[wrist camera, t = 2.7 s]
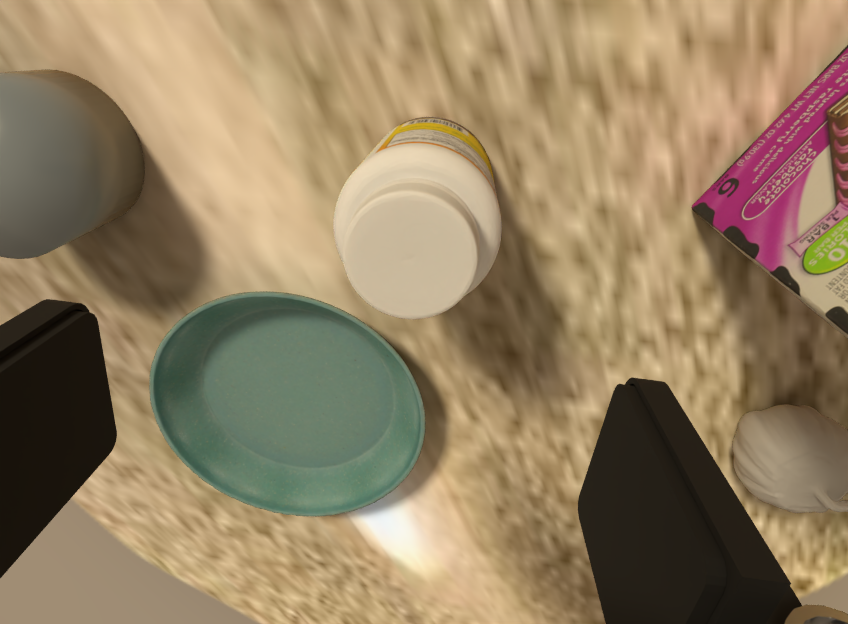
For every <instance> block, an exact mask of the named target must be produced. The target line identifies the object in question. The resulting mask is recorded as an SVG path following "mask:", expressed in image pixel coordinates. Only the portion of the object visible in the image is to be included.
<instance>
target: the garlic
mask: <svg viewBox="0 0 848 624" xmlns="http://www.w3.org/2000/svg"><path fill="white" fill-rule="evenodd" d="M732 448H733V453H734V469H735V472H736V474H737V476H738V478H739V479H740V481H741V482H742V483H743V484H744V486H745V487H746V488H747V490H748V491H749V492H750V493H752V494H753V495H754V496H756V497H757V498H758V499H760V500H761V501H763V502H766V503H769V504H772V505H774V506H776V507H778V508H781V509H785V510H787V511H789V512H793V513H804V512H818V513H823V512H826V511H827V510H828V509H831V510H833V511H837V512H848V501H846V500H843V501H839V500H841V499H842V498H843V497H844V496H845V495H846V494H847V493H848V430H847V429H846V428H844V427H843V426H842V425H841V424H839V423H838V422H836V421H834V420H832V419H830V418H827V417H825V416H822V415H820V413H819V412H818V411H816V410H815V409H814V408H812V407H810V406H807V405H800V406H794V405H776V406H773V407H770V408H768V409H765V410H762V411H751V412H748V413H746V414H744V415H743V416H742V418H741V419H740V421H739V423H738V429H737V431H736V434H735V437H734V439H733V443H732Z"/></svg>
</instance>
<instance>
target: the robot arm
mask: <svg viewBox="0 0 848 624" xmlns="http://www.w3.org/2000/svg"><path fill="white" fill-rule="evenodd" d="M116 437H117V431H116V425H115V419H114V414H113V408H112V402H111V396H110V390H109V384H108V378H107V373H106V367H105V361H104V355H103V349H102V343H101V338H100V332H99V326H98V321H97V318H96V317H95V315H94V314H92V313H89V310H88V309H87V307H86V306H85V305H83V304H81V303H73V302H66V301H58V300H50V299H46V300H44V301H41V302H39V303H38V304H36V305H34V306H33V307H31V308H29V309H28V310H26V311H24V312H22V313H21V314H19V315H17V316H16V317H14V318H12V319H11V320H9V321H7V322H6V323H4V324H2V325H0V578H1V577H2V576H3V575H4V573H5V572H6V571H7V570H8V569H9V568H10V567H11V565H12V564H13V563H14V562H15V561H16V560H17V559H18V558H19V556H20V555H21V554H22V553H23V552H24V551H25V550H26V548H27V547H28V546H29V545H30V544H31V543H32V542H33V541H34V539H35V538H36V537H37V536H38V535H39V534H40V533H41V531H42V530H43V529H44V528H45V527H46V526H47V525H48V523H49V522H50V521H51V520H52V519H53V518H54V517H55V515H56V514H57V513H58V512H59V511H60V510H61V509H62V508H63V506H64V505H65V504H66V503H67V502H68V501H69V500H70V498H71V497H72V496H73V495H74V494H75V493H76V492H77V490H78V489H79V488H80V487H81V486H82V485H83V484H84V482H85V481H86V480H87V479H88V478H89V477H90V476H91V474H92V473H93V472H94V471H95V470H96V469H97V468H98V466H99V465H100V464H101V463H102V462H103V461H104V460H105V459H106V457H107V456H108V455H109V454H110V453H111V451H112V450H113V448H114V445H115V442H116ZM578 514H579V519H580V523H581V527H582V531H583V535H584V539H585V543H586V547H587V551H588V555H589V559H590V563H591V567H592V571H593V575H594V579H595V583H596V587H597V591H598V594H599V598H600V602H601V606H602V610H603V614H604V618H605V622H606V624H848V614H847V613H845V612H843V611H839V610H836V609H833V608H830V607H826V606H822V605H804V606H802V605H801V603H800V601H799V600H798V598H797V597H796V595H795V593H794V592H793V590H792V588H791V587H790V584H791V583H790V581H789V580H788V578H787V576H786V575H785V573H784V572H783V570H782V568H781V567H780V565H779V563H778V562H777V560H776V559H775V557H774V555H773V554H772V552H771V551H770V549H769V547H768V546H767V544H766V543H765V541H764V539H763V538H762V536H761V535H760V533H759V531H758V530H757V528H756V526H755V525H754V523H753V522H752V520H751V518H750V517H749V515H748V514H747V512H746V510H745V509H744V507H743V506H742V504H741V502H740V501H739V499H738V497H737V496H736V494H735V493H734V491H733V489H732V488H731V486H730V485H729V483H728V481H727V480H726V478H725V477H724V475H723V473H722V472H721V470H720V469H719V467H718V465H717V464H716V462H715V460H714V459H713V457H712V456H711V454H710V452H709V451H708V449H707V448H706V446H705V444H704V443H703V441H702V440H701V438H700V436H699V435H698V433H697V431H696V430H695V428H694V427H693V425H692V423H691V422H690V420H689V419H688V417H687V415H686V414H685V412H684V411H683V409H682V407H681V406H680V404H679V403H678V401H677V399H676V398H675V396H674V394H673V393H672V391H671V390H670V388H669V386H668V385H667V384H666V383H665V382H661V381H654V380H646V379H639V378H630V379H629V380H628V381H627V382H626V384H625V385H623V384H619V385H617V386H616V388H615V390H614V392H613V395H612V398H611V401H610V404H609V407H608V410H607V413H606V417H605V420H604V423H603V426H602V429H601V432H600V435H599V438H598V441H597V444H596V447H595V450H594V453H593V456H592V459H591V462H590V465H589V468H588V471H587V474H586V477H585V480H584V483H583V486H582V489H581V492H580V495H579V500H578Z"/></svg>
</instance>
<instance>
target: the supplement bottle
mask: <svg viewBox="0 0 848 624" xmlns="http://www.w3.org/2000/svg"><path fill="white" fill-rule="evenodd" d="M333 225H334V238H335V243H336V247H337V250H338V253H339V255H340V258H341V260H342V262H343V264H344V267H345V271H346V274H347V277H348V279H349V281H350V283H351V285H352V286H353V288H354V289H355V291H356V292H357V293H358V294H359V296H360V297H361V298H362V299H364V300H365V301H366V302H367V303H368V304H369V305H371V306H372V307H374V308H375V309H377V310H379V311H380V312H383V313H385V314H387V315H390V316H394V317H397V318H402V319H423V318H429V317H432V316H436V315H438V314H441V313H443V312H445V311H447V310H449V309H450V308H452V307H453V306H454V305H456V304H457V303H458V302H459V301H460V300H461V299H462V298H463V297H464V296H465V295H467V294H468V293H470V292H471V291H472V290H473V289H475V288H476V287H477V286H478V285H479V284H480V283H481V282H482V281H483V279H484V278H485V277H486V275H487V274H488V272H489V271H490V269H491V268H492V266H493V264H494V262H495V259H496V257H497V254H498V251H499V247H500V242H501V235H502V222H501V213H500V207H499V203H498V198H497V194H496V188H495V183H494V178H493V173H492V168H491V164H490V160H489V158H488V156H487V153H486V151H485V149H484V148H483V146H482V144H481V143H480V142H479V140H478V139H477V138H476V137H475V136H474V135H473V134H472V133H471V132H470V131H469V130H467V129H466V128H465V127H463V126H461V125H460V124H458V123H456V122H453V121H451V120H448V119H445V118H439V117H421V118H415V119H412V120H409V121H407V122H404V123H402V124H400V125H399V126H397V127H395V128H394V129H393V130H391V131H390V132H389V133H388V134H387V135H386V136H385V137H384V138H383V139H382V140H381V141H380V142H379V143H378V145H377V146H376V147H375V148H374V149H373V150H372V151H371V152H370V154H369V155H368V156H367V157H366V158H365V159H364V160H363V161H362V163H361V164H360V165H359V166H358V167H357V168H356V169H355V170H354V171H353V173H352V174H351V175H350V177H349V178H348V179H347V181H346V183H345V185H344V186H343V188H342V190H341V193H340V195H339V197H338V200H337V204H336V208H335V213H334V224H333Z"/></svg>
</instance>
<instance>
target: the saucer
mask: <svg viewBox="0 0 848 624" xmlns="http://www.w3.org/2000/svg"><path fill="white" fill-rule="evenodd" d="M149 390H150V401H151V406H152V409H153V413H154V415H155V419H156V422H157V424H158V426H159V428H160V431H161V432H162V434H163V436H164V438H165V440H166V441H167V443H168V445H169V446H170V447H171V449H172V450H173V451H174V452H175V453H176V455H177V456H178V457H179V458H180V459H181V460H182V461H183V463H184V464H185V465H186V466H187V467H189V468H190V469H191V470H192V471H193V472H194V473H195V474H197V475H198V476H199V477H200V478H201V479H202V480H203V481H205V482H207V483H208V484H210V485H211V486H213V487H214V488H216V489H217V490H219V491H220V492H222V493H224V494H226V495H228V496H229V497H232V498H235V499H237V500H239V501H241V502H243V503H245V504H248V505H252V506H254V507H257V508H260V509H265V510H268V511H272V512H274V513H282V514H286V515H296V516H327V515H336V514H341V513H345V512H350V511H354V510H357V509H359V508H363V507H365V506H367V505H370V504H372V503H374V502H376V501H377V500H379V499H381V498H383V497H384V496H385V495H387V494H388V493H390V492H391V491H393V490H394V489H395V488H396V487H397V486H398V485H399V484H400V483H401V482H402V481H403V480H404V479H405V478H406V477H407V476H408V474H409V473H410V472H411V470H412V469H413V467H414V465H415V463H416V462H417V459H418V457H419V455H420V452H421V449H422V446H423V441H424V436H425V411H424V405H423V401H422V397H421V394H420V391H419V388H418V386H417V384H416V381H415V379H414V377H413V375H412V373H411V372H410V370H409V368H408V366H407V365H406V364H405V362H404V361H403V359H402V358H401V357H400V355H399V354H398V353H397V352H396V351H395V349H394V348H393V347H392V346H391V345H390V344H389V343H388V342H387V341H386V340H385V339H384V338H383V337H382V336H380V335H379V334H378V333H377V332H376V331H374V330H373V329H372V328H371V327H369V326H368V325H366V324H365V323H364V322H362V321H361V320H359V319H357V318H356V317H354V316H352V315H351V314H349V313H347V312H345V311H343V310H341V309H339V308H337V307H334V306H332V305H329V304H327V303H324V302H321V301H318V300H315V299H312V298H308V297H305V296H300V295H295V294H289V293H281V292H247V293H239V294H233V295H229V296H225V297H222V298H219V299H216V300H213V301H211V302H208V303H206V304H204V305H202V306H200V307H198V308H196V309H195V310H193V311H191V312H190V313H189V314H187V315H186V316H185V317H183V318H182V319H181V320H179V321H178V322H177V323H176V324H175V325H174V326H173V328H172V329H171V330H170V331H169V332H168V333H167V335H166V336H165V337H164V339H163V340H162V342H161V343H160V345H159V347H158V349H157V351H156V354H155V356H154V360H153V362H152V366H151V371H150V385H149Z"/></svg>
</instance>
